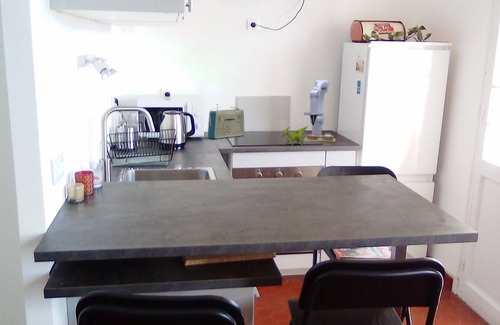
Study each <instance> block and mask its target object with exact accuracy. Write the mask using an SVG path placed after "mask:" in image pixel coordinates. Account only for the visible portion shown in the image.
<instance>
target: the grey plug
mask: <svg viewBox="0 0 500 325" xmlns="http://www.w3.org/2000/svg"><path fill="white" fill-rule="evenodd" d="M324 135H325V137H331V135H332V133H330V132H325V133H324Z"/></svg>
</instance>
